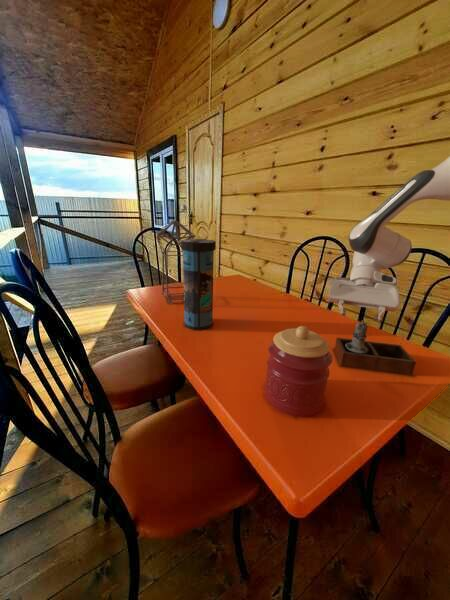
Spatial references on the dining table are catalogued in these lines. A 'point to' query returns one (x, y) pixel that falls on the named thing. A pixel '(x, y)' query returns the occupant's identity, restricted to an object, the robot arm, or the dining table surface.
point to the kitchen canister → (297, 372)
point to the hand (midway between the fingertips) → (359, 317)
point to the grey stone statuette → (358, 340)
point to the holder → (376, 357)
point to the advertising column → (198, 282)
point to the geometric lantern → (171, 255)
